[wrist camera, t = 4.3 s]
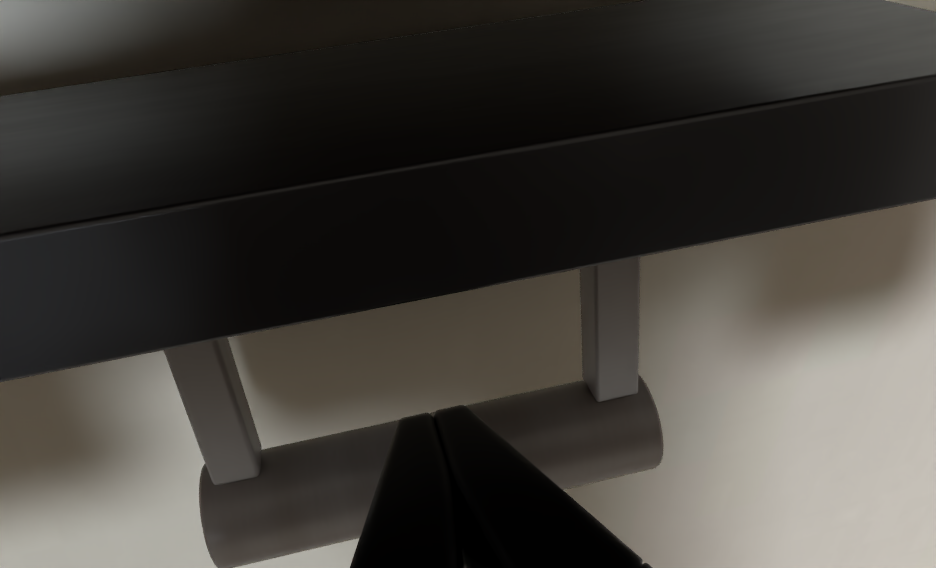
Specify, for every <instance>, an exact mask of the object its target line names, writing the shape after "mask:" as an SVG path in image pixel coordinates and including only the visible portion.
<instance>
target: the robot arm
mask: <svg viewBox="0 0 936 568" xmlns="http://www.w3.org/2000/svg"><path fill="white" fill-rule="evenodd" d="M350 568H652V567H651V566H650V565H649V564H647V563H644V564H643V561H642V559H641V558H640V557H639V556H638V555H637V554H636V553H635V552H633V551H632V550H631V549H630V548H629V547H628V546H626V545H625V544H624V543H623V542H622V541H621V540H620V539H618V538H617V537H616V536H615V535H614V534H613V533H612V532H610V531H609V530H608V529H607V528H606V527H605V526H604V525H602V524H601V523H600V522H599V521H598V520H597V519H595V518H594V517H593V516H592V515H591V514H590V513H589V512H587V511H586V510H585V509H584V508H583V507H582V506H581V505H579V504H578V503H577V502H576V501H575V500H574V499H573V498H571V497H570V496H569V495H568V494H567V493H566V492H564V491H563V490H562V489H561V488H560V487H559V486H558V485H556V484H555V483H554V482H553V481H552V480H551V479H550V478H548V477H547V476H546V475H545V474H544V473H543V472H542V471H540V470H539V469H538V468H537V467H536V466H535V465H533V464H532V463H531V462H530V461H529V460H528V459H527V458H525V457H524V456H523V455H522V454H521V453H520V452H519V451H517V450H516V449H515V448H514V447H513V446H512V445H511V444H509V443H508V442H507V441H506V440H505V439H504V438H502V437H501V436H500V435H499V434H498V433H497V432H496V431H494V430H493V429H492V428H491V427H490V426H489V425H488V424H486V423H485V422H484V421H483V420H482V419H481V418H480V417H478V416H477V415H476V414H475V413H474V412H473V411H471V410H470V409H469V408H468V407H467V406H464V405H459V406H455V407H450V408H445V409H441V410H437V411H436V412H435V413H434V415H433V416H432V415H431V414H430V413H422V414H418V415H413V416H409V417H404V418H402V419H400V420H399V422H398V424H397V427H396V430H395V433H394V436H393V439H392V442H391V445H390V448H389V451H388V454H387V457H386V460H385V463H384V466H383V469H382V472H381V475H380V478H379V481H378V484H377V487H376V490H375V494H374V497H373V500H372V503H371V506H370V509H369V512H368V515H367V518H366V521H365V524H364V527H363V530H362V533H361V536H360V539H359V542H358V545H357V548H356V551H355V554H354V557H353V560H352V563H351V566H350Z"/></svg>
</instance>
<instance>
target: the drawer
mask: <svg viewBox="0 0 936 568" xmlns="http://www.w3.org/2000/svg"><path fill="white" fill-rule="evenodd" d="M932 199H936V12H935V11H930V10H926V9H921V8H917V7H912V6H908V5H903V4H899V3H894V2H890V1H885V0H645V1H638V2H632V3H625V4H618V5H611V6H605V7H598V8H591V9H585V10H578V11H571V12H564V13H558V14H551V15H544V16H537V17H531V18H524V19H517V20H510V21H504V22H497V23H490V24H483V25H477V26H470V27H463V28H456V29H450V30H443V31H436V32H430V33H423V34H416V35H409V36H403V37H396V38H389V39H382V40H376V41H369V42H362V43H355V44H349V45H342V46H335V47H328V48H322V49H315V50H308V51H301V52H295V53H288V54H281V55H275V56H268V57H261V58H254V59H248V60H241V61H234V62H227V63H221V64H214V65H207V66H200V67H194V68H187V69H180V70H173V71H167V72H160V73H153V74H146V75H140V76H133V77H126V78H120V79H113V80H106V81H99V82H93V83H86V84H79V85H72V86H66V87H59V88H52V89H45V90H39V91H32V92H25V93H18V94H12V95H5V96H0V382H3V381H8V380H13V379H19V378H24V377H29V376H34V375H39V374H44V373H49V372H54V371H59V370H65V369H70V368H75V367H80V366H85V365H90V364H95V363H100V362H105V361H110V360H116V359H121V358H126V357H131V356H136V355H141V354H146V353H151V352H156V351H162V350H164V353H165V355H166V358H167V361H168V363H169V366H170V369H171V372H172V374H173V377H174V380H175V382H176V385H177V388H178V391H179V393H180V396H181V399H182V401H183V404H184V407H185V410H186V412H187V415H188V418H189V420H190V423H191V426H192V429H193V431H194V434H195V437H196V439H197V442H198V445H199V448H200V450H201V453H202V456H203V458H204V461H205V464H204V466H203V468H202V471H201V476H200V484H199V504H200V515H201V522H202V528H203V533H204V537H205V541H206V545H207V548H208V551H209V554H210V556H211V558H212V560H213V562H214V564H215V565H216V567H218V568H234V567H238V566H242V565H246V564H251V563H255V562H259V561H263V560H268V559H272V558H276V557H280V556H285V555H289V554H293V553H297V552H302V551H306V550H310V549H314V548H319V547H323V546H327V545H331V544H335V543H340V542H344V541H348V540H352V539H357V538H360V536H361V533H362V530H363V527H364V524H365V521H366V518H367V515H368V512H369V509H370V506H371V503H372V500H373V497H374V494H375V490H376V487H377V484H378V481H379V478H380V475H381V472H382V469H383V466H384V463H385V460H386V457H387V454H388V451H389V448H390V445H391V442H392V439H393V436H394V433H395V430H396V427H397V424H398V422H399V420H397V421H392V422H387V423H383V424H378V425H373V426H369V427H364V428H360V429H355V430H350V431H346V432H341V433H337V434H332V435H327V436H323V437H318V438H313V439H309V440H304V441H300V442H295V443H290V444H286V445H281V446H276V447H272V448H267V449H263V450H261V443H260V440H259V437H258V434H257V431H256V427H255V424H254V421H253V418H252V415H251V411H250V408H249V405H248V402H247V399H246V396H245V392H244V389H243V386H242V383H241V380H240V376H239V373H238V370H237V367H236V364H235V360H234V357H233V354H232V351H231V348H230V345H229V341H228V337H233V336H238V335H243V334H248V333H253V332H259V331H264V330H269V329H274V328H279V327H284V326H289V325H294V324H299V323H304V322H310V321H315V320H320V319H325V318H330V317H335V316H340V315H345V314H350V313H355V312H361V311H366V310H371V309H376V308H381V307H386V306H391V305H396V304H401V303H407V302H412V301H417V300H422V299H427V298H432V297H437V296H442V295H447V294H452V293H458V292H463V291H468V290H473V289H478V288H483V287H488V286H493V285H498V284H504V283H509V282H514V281H519V280H524V279H529V278H534V277H539V276H544V275H549V274H555V273H560V272H565V271H570V270H575V269H580V302H581V336H582V370H583V379H584V380H581V381H577V382H572V383H567V384H563V385H558V386H554V387H549V388H544V389H540V390H535V391H530V392H526V393H521V394H517V395H512V396H507V397H503V398H498V399H494V400H489V401H484V402H480V403H475V404H470V405H466V406H467V407H468V408H469V409H470V410H471V411H473V412H474V413H475V414H476V415H477V416H478V417H480V418H481V419H482V420H483V421H484V422H485V423H486V424H488V425H489V426H490V427H491V428H492V429H493V430H494V431H496V432H497V433H498V434H499V435H500V436H501V437H502V438H504V439H505V440H506V441H507V442H508V443H509V444H511V445H512V446H513V447H514V448H515V449H516V450H517V451H519V452H520V453H521V454H522V455H523V456H524V457H525V458H527V459H528V460H529V461H530V462H531V463H532V464H533V465H535V466H536V467H537V468H538V469H539V470H540V471H542V472H543V473H544V474H545V475H546V476H547V477H548V478H550V479H551V480H552V481H553V482H554V483H555V484H556V485H558V486H559V487H560V488H561V489H562V490H564V489H569V488H573V487H577V486H581V485H586V484H590V483H594V482H598V481H603V480H607V479H611V478H615V477H620V476H624V475H628V474H632V473H637V472H641V471H645V470H649V469H653V468H656V467H657V466H658V465H659V464H660V463H661V460H662V456H663V436H662V429H661V423H660V419H659V415H658V411H657V408H656V405H655V402H654V400H653V397H652V395H651V393H650V391H649V389H648V387H647V385H646V383H645V382H644V380H643V379H642V378H641V376H640V375H639V374H638V359H639V297H640V257H641V256H646V255H652V254H657V253H662V252H667V251H672V250H677V249H682V248H687V247H692V246H698V245H703V244H708V243H713V242H718V241H723V240H728V239H733V238H738V237H743V236H749V235H754V234H759V233H764V232H769V231H774V230H779V229H784V228H789V227H794V226H800V225H805V224H810V223H815V222H820V221H825V220H830V219H835V218H840V217H846V216H851V215H856V214H861V213H866V212H871V211H876V210H881V209H886V208H891V207H897V206H902V205H907V204H912V203H917V202H922V201H927V200H932ZM434 413H435V412H433V413H430V414H431V415H432V416H433V415H434Z"/></svg>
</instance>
